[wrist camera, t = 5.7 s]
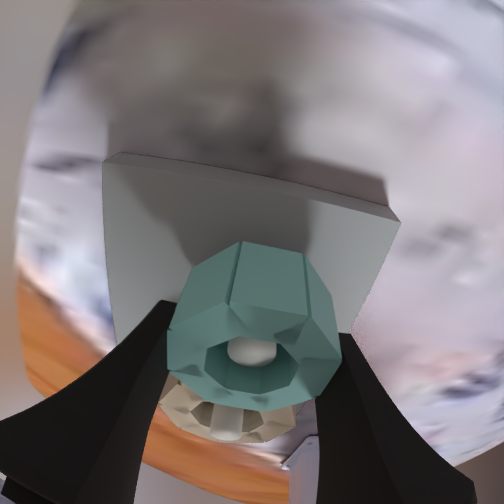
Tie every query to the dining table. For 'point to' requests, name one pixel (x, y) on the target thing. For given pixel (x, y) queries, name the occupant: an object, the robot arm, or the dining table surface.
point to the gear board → (230, 242)
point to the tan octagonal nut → (200, 412)
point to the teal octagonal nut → (254, 328)
